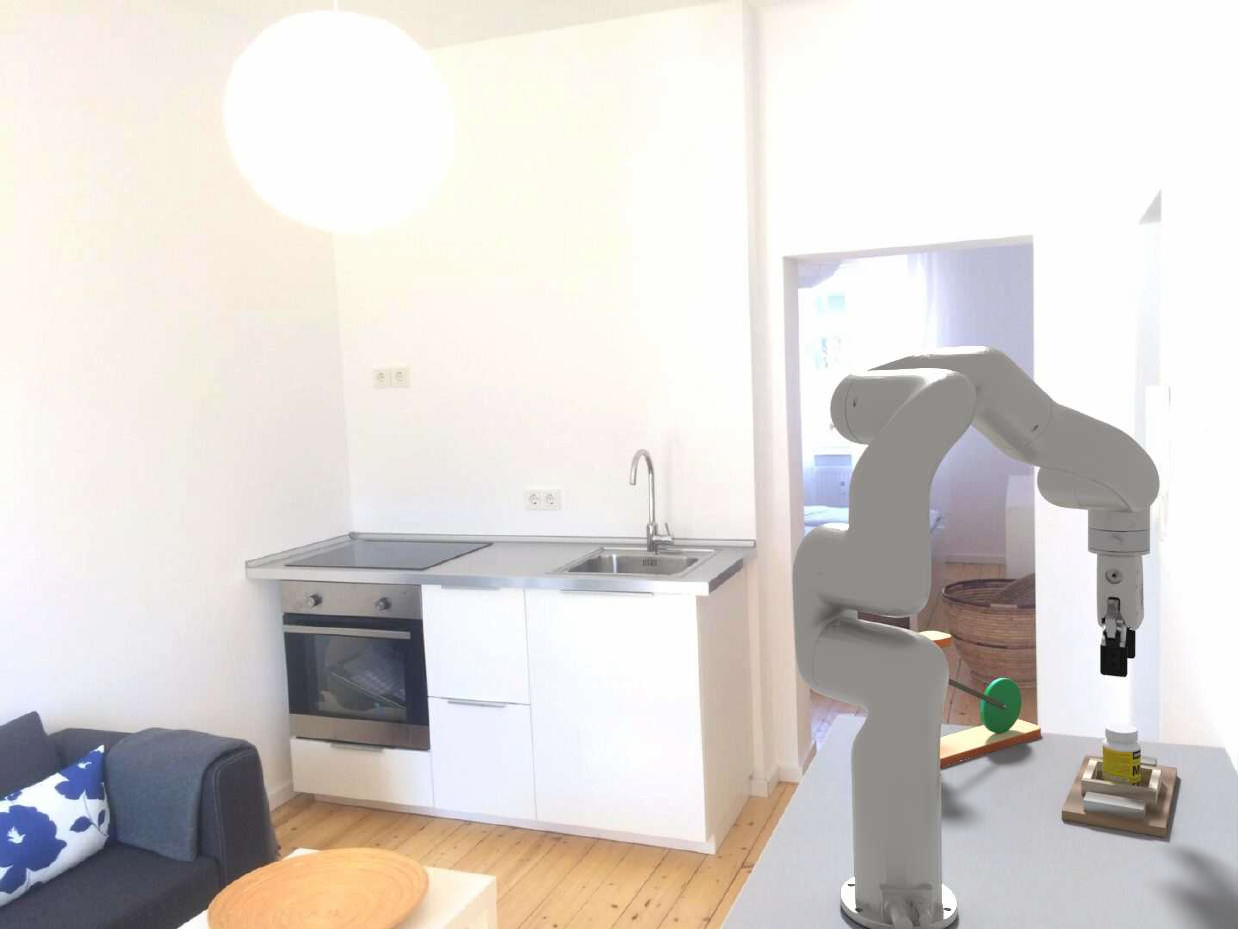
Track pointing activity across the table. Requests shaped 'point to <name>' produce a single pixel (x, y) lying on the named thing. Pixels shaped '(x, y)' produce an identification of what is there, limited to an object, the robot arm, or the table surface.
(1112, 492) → the robot arm
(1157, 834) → the jig board
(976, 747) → the crank mechanism
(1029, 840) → the table surface
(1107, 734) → the supplement bottle
